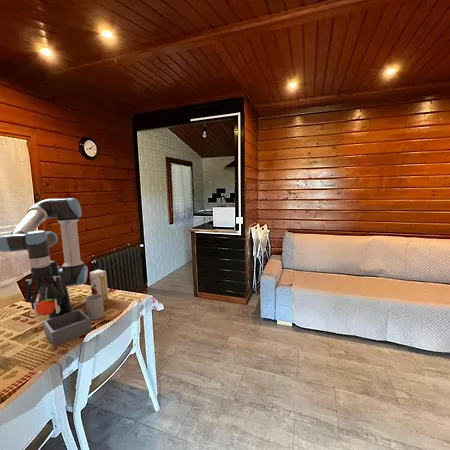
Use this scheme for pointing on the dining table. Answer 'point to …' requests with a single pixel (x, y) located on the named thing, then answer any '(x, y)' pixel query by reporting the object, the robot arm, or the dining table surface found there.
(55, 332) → the bin
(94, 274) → the juice carton
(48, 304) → the tomato
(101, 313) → the mug
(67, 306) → the wine bottle
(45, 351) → the dining table surface
